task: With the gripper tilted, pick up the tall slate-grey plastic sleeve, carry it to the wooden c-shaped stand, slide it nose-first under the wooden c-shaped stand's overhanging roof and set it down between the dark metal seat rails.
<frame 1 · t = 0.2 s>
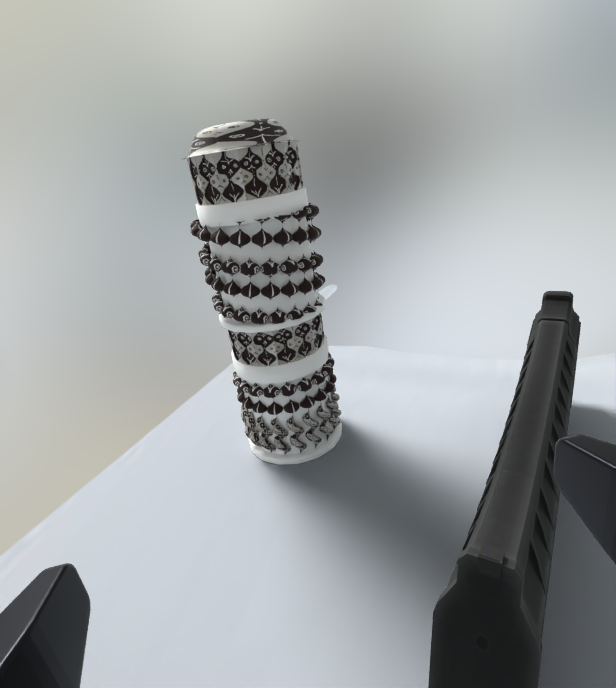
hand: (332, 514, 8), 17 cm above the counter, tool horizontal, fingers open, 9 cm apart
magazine: (527, 522, 27), on the counter
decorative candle: (296, 435, 39), on the counter
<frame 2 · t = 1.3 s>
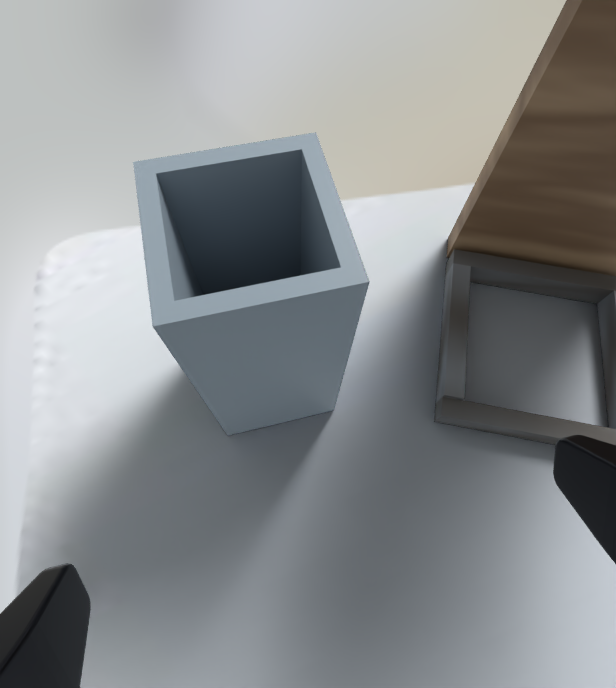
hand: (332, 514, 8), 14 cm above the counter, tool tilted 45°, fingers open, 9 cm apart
sleeve: (270, 373, 24), on the counter
wooden c-shaped stand: (529, 352, 24), on the counter
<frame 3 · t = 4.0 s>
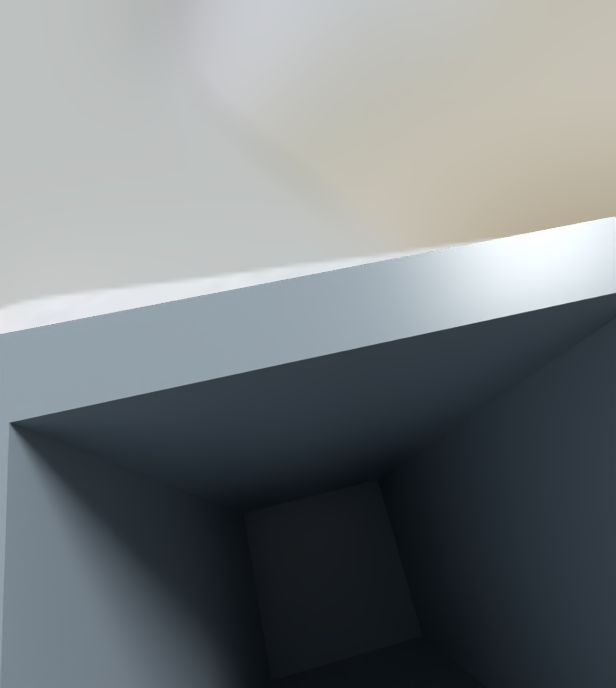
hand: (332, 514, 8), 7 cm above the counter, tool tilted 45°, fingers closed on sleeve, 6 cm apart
sleeve: (328, 570, 13), on the counter, touching gripper
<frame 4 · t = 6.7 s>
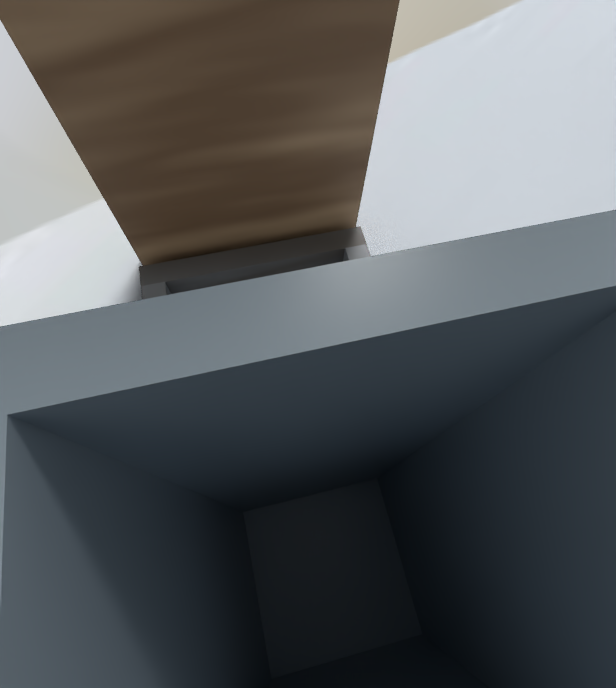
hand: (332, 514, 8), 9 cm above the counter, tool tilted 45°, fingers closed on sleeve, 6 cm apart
sleeve: (327, 569, 13), point 3 cm above the counter, touching gripper
wooden c-shaped stand: (277, 360, 19), on the counter
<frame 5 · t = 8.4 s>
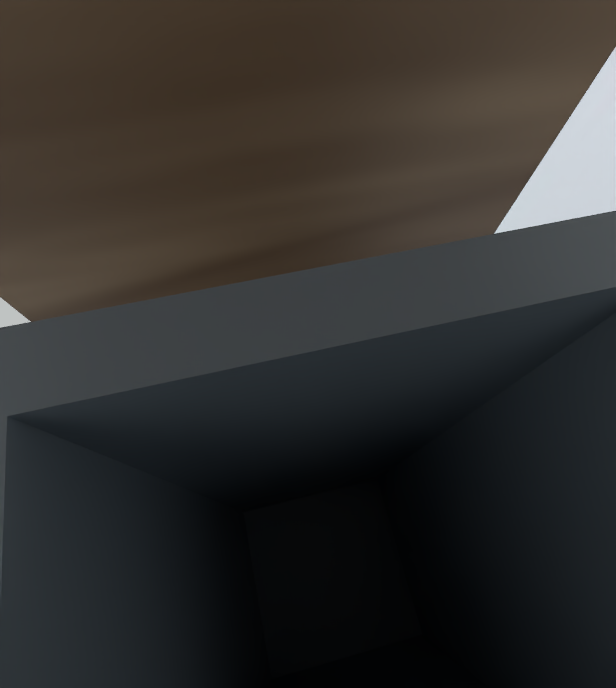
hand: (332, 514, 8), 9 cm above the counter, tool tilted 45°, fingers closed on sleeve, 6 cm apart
sleeve: (327, 569, 13), point 3 cm above the counter, touching gripper
wooden c-shaped stand: (318, 543, 16), on the counter
when the fingers open (8 cm above the counter, at t = 9.5 s): sleeve drops 1 cm, resting in wooden c-shaped stand.
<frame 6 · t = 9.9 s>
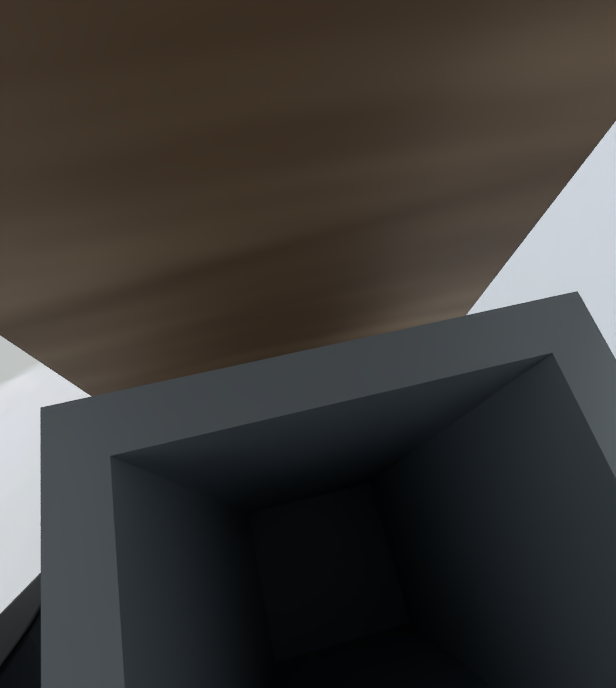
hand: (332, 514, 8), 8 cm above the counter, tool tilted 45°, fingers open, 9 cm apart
sleeve: (325, 564, 15), resting in wooden c-shaped stand
wooden c-shaped stand: (325, 567, 15), on the counter
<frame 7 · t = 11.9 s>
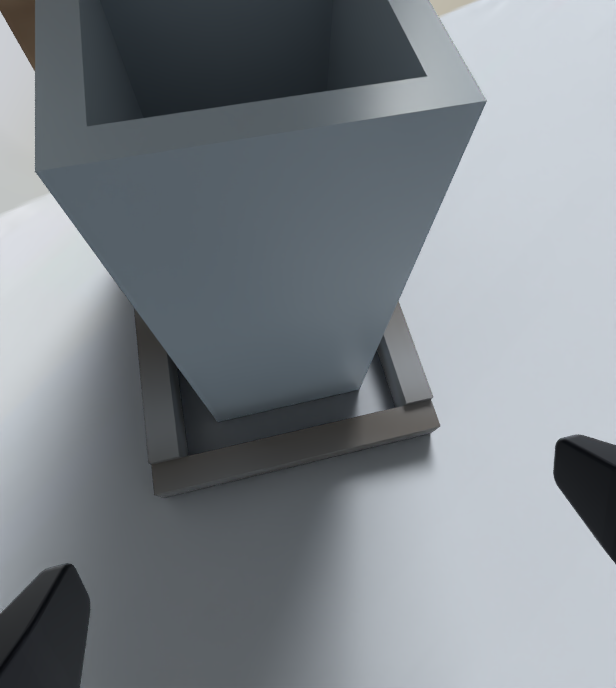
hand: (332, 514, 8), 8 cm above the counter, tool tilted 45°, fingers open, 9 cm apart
sleeve: (274, 340, 18), resting in wooden c-shaped stand
wooden c-shaped stand: (274, 342, 18), on the counter
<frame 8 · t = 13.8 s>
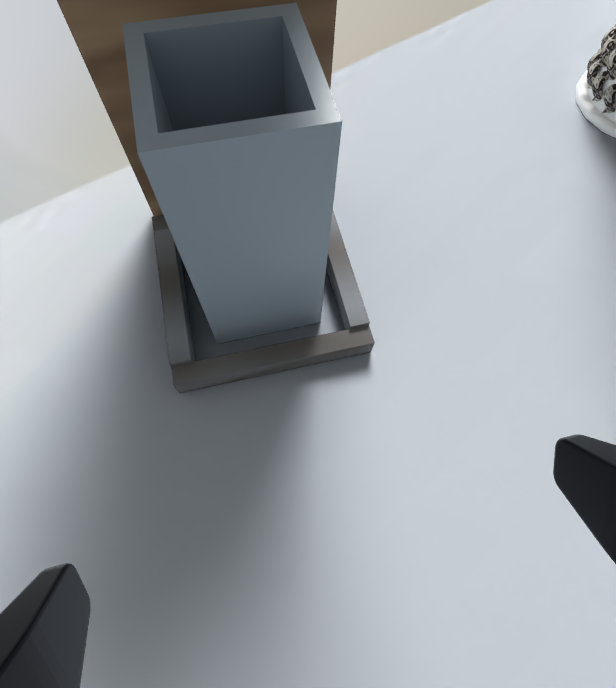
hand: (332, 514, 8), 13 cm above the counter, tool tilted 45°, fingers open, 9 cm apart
sleeve: (259, 288, 24), resting in wooden c-shaped stand
wooden c-shaped stand: (259, 289, 24), on the counter
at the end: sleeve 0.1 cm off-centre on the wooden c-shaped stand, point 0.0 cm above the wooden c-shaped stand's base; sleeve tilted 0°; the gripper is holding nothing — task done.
